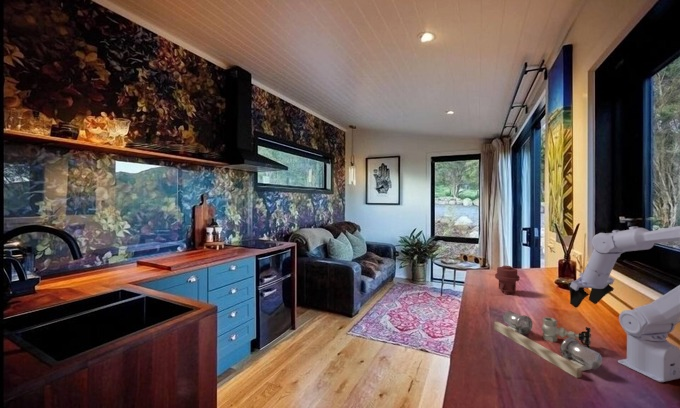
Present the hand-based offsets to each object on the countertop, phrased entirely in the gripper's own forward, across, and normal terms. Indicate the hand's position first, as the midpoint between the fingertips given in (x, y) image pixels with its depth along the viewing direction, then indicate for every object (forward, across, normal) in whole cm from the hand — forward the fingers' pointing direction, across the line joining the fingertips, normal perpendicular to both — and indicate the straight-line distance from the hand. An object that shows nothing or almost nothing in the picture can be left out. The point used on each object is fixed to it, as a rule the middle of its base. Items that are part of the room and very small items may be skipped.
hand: (583, 303), depth 98 cm
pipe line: (+8, +18, +6) cm, 20 cm away
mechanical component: (+27, -9, -36) cm, 45 cm away
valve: (+9, +10, +6) cm, 15 cm away
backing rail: (+8, +23, +6) cm, 25 cm away
